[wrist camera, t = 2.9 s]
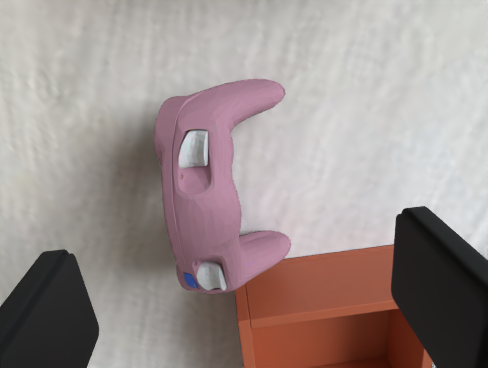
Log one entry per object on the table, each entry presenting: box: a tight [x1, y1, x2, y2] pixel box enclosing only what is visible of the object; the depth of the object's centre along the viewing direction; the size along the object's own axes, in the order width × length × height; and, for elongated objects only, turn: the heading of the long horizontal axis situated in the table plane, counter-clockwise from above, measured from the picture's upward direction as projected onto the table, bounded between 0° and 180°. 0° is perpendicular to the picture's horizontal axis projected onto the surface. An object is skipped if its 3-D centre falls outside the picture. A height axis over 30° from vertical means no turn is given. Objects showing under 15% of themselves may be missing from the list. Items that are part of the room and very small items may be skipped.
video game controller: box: [154, 79, 291, 294], centre depth 17 cm, size 10×5×7 cm, turn 5°
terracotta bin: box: [235, 245, 432, 368], centre depth 22 cm, size 10×9×5 cm
